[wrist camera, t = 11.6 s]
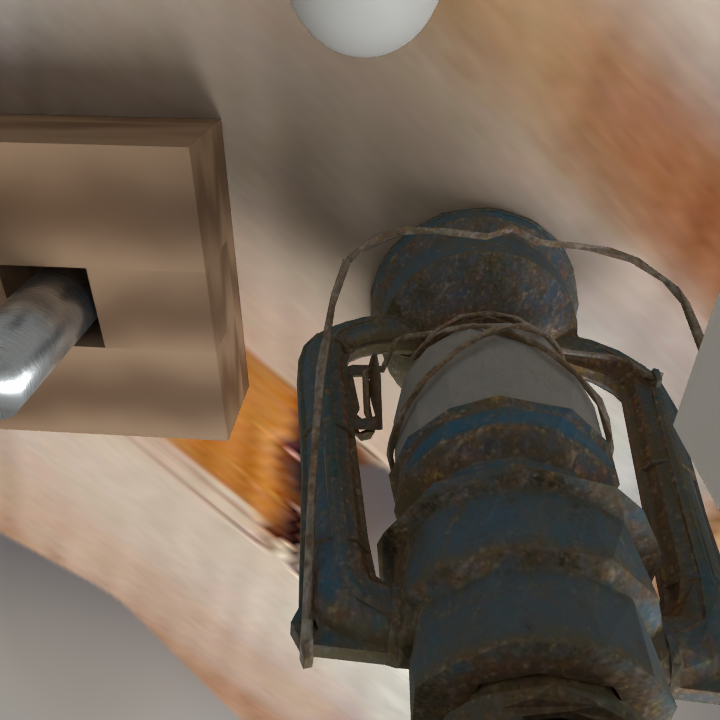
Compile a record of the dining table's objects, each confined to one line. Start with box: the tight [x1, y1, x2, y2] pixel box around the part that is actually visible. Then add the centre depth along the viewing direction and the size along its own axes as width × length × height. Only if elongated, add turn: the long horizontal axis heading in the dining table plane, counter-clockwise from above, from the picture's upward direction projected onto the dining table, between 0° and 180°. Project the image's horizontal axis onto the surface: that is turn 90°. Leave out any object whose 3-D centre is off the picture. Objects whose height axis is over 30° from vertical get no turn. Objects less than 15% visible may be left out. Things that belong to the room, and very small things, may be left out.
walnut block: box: [0, 114, 249, 441], centre depth 38 cm, size 18×18×6 cm
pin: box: [0, 267, 98, 420], centre depth 35 cm, size 4×4×12 cm
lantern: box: [290, 208, 720, 720], centre depth 28 cm, size 19×14×30 cm
